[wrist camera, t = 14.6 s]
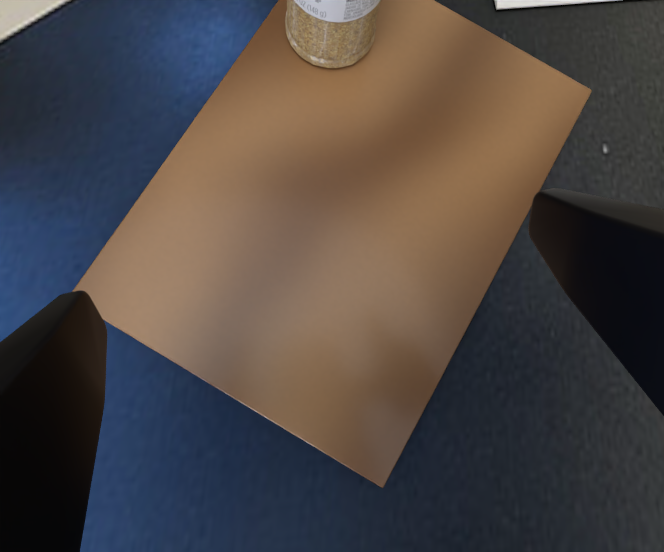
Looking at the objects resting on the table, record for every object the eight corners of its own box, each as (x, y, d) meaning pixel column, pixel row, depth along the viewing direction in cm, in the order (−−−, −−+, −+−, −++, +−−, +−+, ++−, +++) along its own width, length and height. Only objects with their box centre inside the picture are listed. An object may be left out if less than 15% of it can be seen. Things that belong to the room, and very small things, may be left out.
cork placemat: (586, 95, 24) (592, 90, 24) (381, 485, 20) (383, 488, 20) (322, -55, 24) (323, -64, 24) (72, 299, 21) (66, 297, 20)
